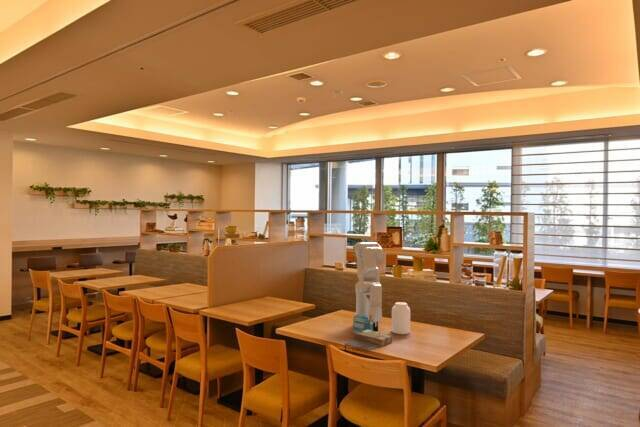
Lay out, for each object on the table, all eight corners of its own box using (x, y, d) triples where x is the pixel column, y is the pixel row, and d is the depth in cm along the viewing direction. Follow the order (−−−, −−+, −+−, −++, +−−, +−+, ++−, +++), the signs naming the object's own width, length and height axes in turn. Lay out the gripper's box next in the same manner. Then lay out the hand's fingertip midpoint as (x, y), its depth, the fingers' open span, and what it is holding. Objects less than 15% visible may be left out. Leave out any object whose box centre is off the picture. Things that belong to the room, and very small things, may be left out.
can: (413, 332, 296) (414, 303, 296) (401, 335, 288) (402, 305, 288) (399, 328, 305) (400, 300, 305) (387, 331, 298) (388, 302, 297)
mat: (356, 339, 277) (356, 339, 277) (380, 346, 265) (380, 345, 265) (344, 344, 268) (344, 343, 268) (368, 350, 256) (368, 350, 256)
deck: (365, 335, 286) (365, 329, 286) (391, 342, 273) (392, 335, 273) (354, 339, 277) (355, 333, 277) (381, 346, 264) (381, 339, 264)
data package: (353, 333, 292) (353, 315, 292) (355, 331, 295) (356, 314, 295) (369, 336, 286) (369, 318, 286) (372, 334, 290) (372, 316, 289)
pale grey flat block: (367, 333, 278) (367, 329, 278) (379, 336, 272) (379, 332, 272) (362, 335, 274) (362, 331, 274) (374, 338, 268) (374, 334, 268)
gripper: (377, 301, 285) (376, 329, 285) (364, 304, 273) (363, 333, 273) (386, 302, 280) (386, 331, 280) (374, 306, 268) (373, 336, 268)
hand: (375, 332), depth 277 cm, fingers closed
